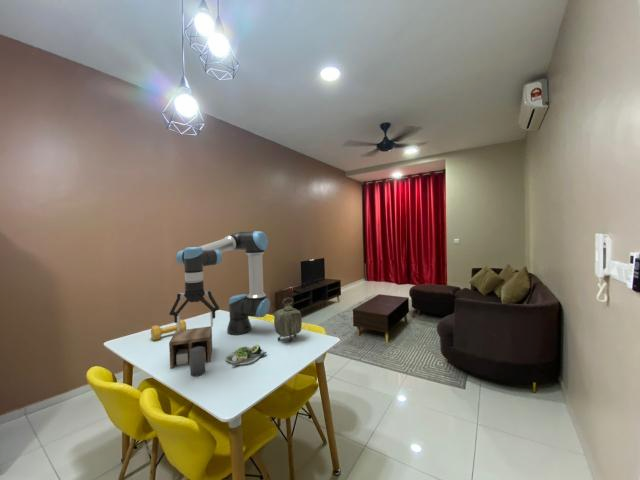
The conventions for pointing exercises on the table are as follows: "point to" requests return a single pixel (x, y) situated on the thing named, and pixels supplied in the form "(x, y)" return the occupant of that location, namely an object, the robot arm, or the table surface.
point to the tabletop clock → (287, 321)
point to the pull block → (198, 360)
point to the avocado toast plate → (245, 355)
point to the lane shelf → (190, 341)
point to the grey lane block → (182, 356)
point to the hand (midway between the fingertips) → (195, 327)
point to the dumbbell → (165, 330)
